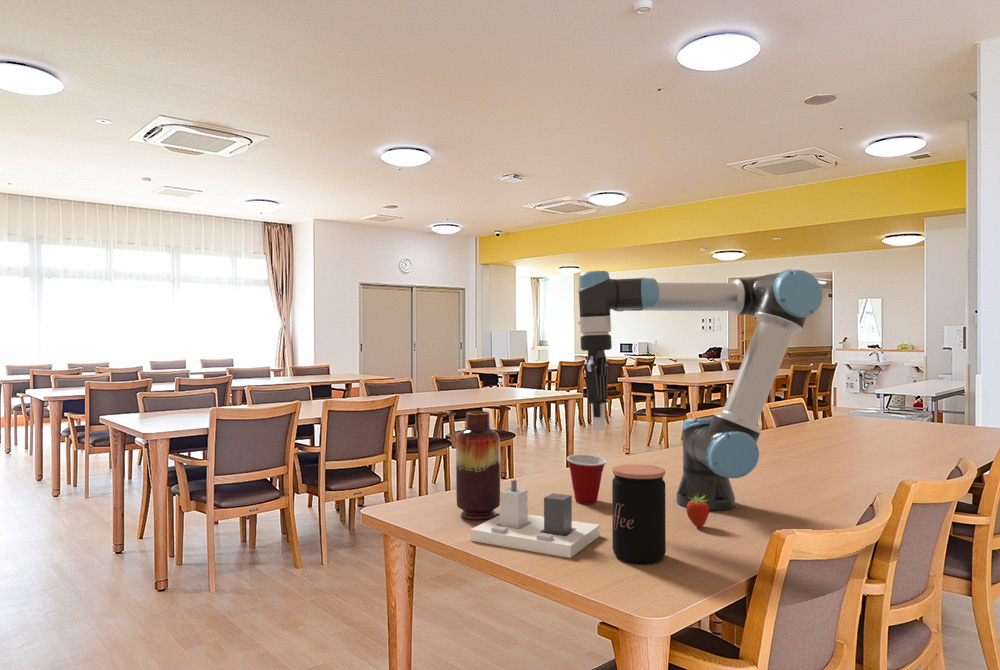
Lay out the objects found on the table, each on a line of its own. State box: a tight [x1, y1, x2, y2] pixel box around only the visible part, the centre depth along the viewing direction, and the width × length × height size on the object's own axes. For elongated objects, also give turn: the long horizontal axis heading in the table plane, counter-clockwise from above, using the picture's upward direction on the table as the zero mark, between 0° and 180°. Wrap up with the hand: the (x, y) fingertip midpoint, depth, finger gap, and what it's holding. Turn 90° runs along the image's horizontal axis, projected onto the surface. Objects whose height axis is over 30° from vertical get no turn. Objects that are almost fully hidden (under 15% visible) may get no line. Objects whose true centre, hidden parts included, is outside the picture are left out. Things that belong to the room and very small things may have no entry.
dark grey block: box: [543, 492, 573, 536], centre depth 146 cm, size 5×5×10 cm
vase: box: [455, 410, 501, 521], centre depth 167 cm, size 11×11×26 cm
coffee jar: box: [611, 463, 667, 565], centre depth 136 cm, size 11×11×18 cm
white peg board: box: [469, 479, 601, 559], centre depth 148 cm, size 24×17×12 cm
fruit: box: [685, 494, 710, 528], centre depth 156 cm, size 5×5×8 cm
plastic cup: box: [566, 453, 607, 505], centre depth 181 cm, size 11×11×12 cm
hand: (599, 429), depth 163 cm, fingers closed
